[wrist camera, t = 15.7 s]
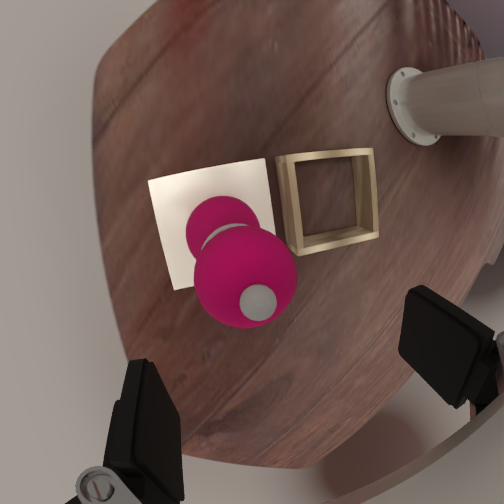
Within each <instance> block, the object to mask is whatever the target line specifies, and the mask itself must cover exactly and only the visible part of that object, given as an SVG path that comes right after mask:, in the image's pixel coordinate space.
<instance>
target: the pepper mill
mask: <svg viewBox="0 0 504 504" xmlns="http://www.w3.org/2000/svg"><path fill="white" fill-rule="evenodd" d="M186 241H187V245H188V248H189V250H190V252H191V254H192V255H193V257H194V258H195V259H196V263H195V267H194V279H193V280H194V287H195V290H196V294H197V296H198V298H199V301H200V303H201V304H202V306H203V307H204V309H205V310H206V311H207V312H208V313H209V314H210V315H211V316H212V317H213V318H215V319H216V320H218V321H219V322H221V323H223V324H225V325H228V326H231V327H236V328H253V327H258V326H261V325H264V324H266V323H268V322H270V321H273V320H274V319H275V318H276V317H278V316H279V315H280V314H281V313H282V312H283V311H284V310H285V309H286V307H287V306H288V304H289V303H290V302H291V299H292V297H293V295H294V293H295V288H296V284H297V273H296V266H295V262H294V259H293V257H292V255H291V253H290V251H289V249H288V248H287V246H286V245H285V244H284V243H283V242H282V241H281V240H280V239H279V238H278V237H277V236H276V235H274V234H273V233H271V232H269V231H267V230H265V229H262V228H260V224H259V221H258V219H257V216H256V215H255V213H254V212H253V210H252V209H251V208H250V207H249V206H248V205H247V204H246V203H245V202H243V201H241V200H240V199H237V198H235V197H231V196H216V197H212V198H209V199H207V200H205V201H203V202H202V203H200V204H199V205H198V206H197V207H196V208H195V209H194V210H193V211H192V213H191V215H190V217H189V219H188V221H187V225H186Z"/></svg>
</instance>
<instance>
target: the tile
mask: <svg viewBox="0 0 504 504" xmlns="http://www.w3.org/2000/svg"><path fill="white" fill-rule="evenodd" d="M148 184H149V189H150V194H151V199H152V203H153V208H154V213H155V217H156V221H157V226H158V230H159V234H160V238H161V243H162V247H163V251H164V255H165V258H166V262H167V266H168V270H169V273H170V277H171V281H172V284H173V288H174V290H177V289H182V288H186V287H191V286H194V280H193V279H194V267H195V263H196V259H195V258H194V257H193V255H192V254H191V252H190V250H189V248H188V245H187V241H186V225H187V221H188V219H189V217H190V215H191V213H192V211H193V210H194V209H195V208H196V207H197V206H198V205H199V204H200V203H202V202H203V201H205V200H207V199H209V198H212V197H216V196H231V197H235V198H237V199H240V200H241V201H243V202H245V203H246V204H247V205H248V206H249V207H250V208H251V209H252V210H253V212H254V213H255V215H256V216H257V219H258V221H259V224H260V228H262V229H265V230H267V231H269V232H271V233H273V234H274V235H276V233H275V226H274V219H273V212H272V205H271V198H270V191H269V184H268V177H267V171H266V164H265V158H262V159H255V160H248V161H242V162H236V163H230V164H224V165H219V166H213V167H208V168H203V169H197V170H193V171H188V172H183V173H178V174H174V175H169V176H165V177H160V178H156V179H152V180H148Z"/></svg>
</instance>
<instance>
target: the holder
mask: <svg viewBox="0 0 504 504" xmlns="http://www.w3.org/2000/svg"><path fill="white" fill-rule="evenodd" d="M344 156H351V162H352V171H353V181H354V192H355V205H356V221H357V226H352V227H347V228H343V229H338V230H333V231H329V232H324V233H319V234H314V235H310V236H305V237H303V232H302V222H301V214H300V205H299V197H298V189H297V181H296V174H295V166H294V162H296V161H304V160H313V159H322V158H332V157H344ZM274 157H275V164H276V171H277V178H278V185H279V192H280V199H281V206H282V214H283V222H284V229H285V237H286V246H287V247H288V248H289V249H290V250H291V251H292V252H294V253H295V254H296V255H297V256H302V255H307V254H311V253H315V252H319V251H324V250H328V249H332V248H336V247H341V246H345V245H349V244H353V243H357V242H361V241H366V240H370V239H374V238H378V237H379V230H378V204H377V188H376V175H375V165H374V155H373V148H356V149H341V150H328V151H317V152H307V153H298V154H289V155H281V156H274Z"/></svg>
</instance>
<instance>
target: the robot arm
mask: <svg viewBox="0 0 504 504" xmlns="http://www.w3.org/2000/svg"><path fill="white" fill-rule="evenodd" d="M387 103H388V108H389V111H390V114H391V117H392V119H393V121H394V123H395V125H396V127H397V128H398V130H399V131H400V132H401V134H402V135H403V136H404V137H405V138H406V139H407V140H409V141H410V142H412V143H414V144H416V145H421V146H428V145H432V144H434V143H435V142H437V140H438V139H439V138H440V136H441V135H464V136H492V137H504V57H500V58H494V59H487V60H482V61H476V62H470V63H465V64H460V65H455V66H450V67H446V68H441V69H437V70H433V71H429V72H425V73H423V72H421V71H419V70H418V69H415V68H411V67H405V68H401V69H398V70H396V71H395V72H394V73H393V74H392V75H391V77H390V78H389V81H388V84H387ZM494 333H495V331H493V330H492V329H490V328H489V327H487V326H486V325H484V324H483V323H481V322H480V321H479V320H477V319H476V318H474V317H473V316H471V315H469V314H468V313H466V312H465V311H464V310H462V309H460V308H459V307H457V306H456V305H454V304H453V303H451V302H450V301H448V300H446V299H445V298H443V297H442V296H440V295H439V294H437V293H435V292H434V291H432V290H431V289H429V288H427V287H426V286H424V285H419V286H417V287H414V288H411V289H410V290H409V291H408V294H407V295H406V298H405V306H404V314H403V321H402V328H401V335H400V341H399V346H398V351H399V354H400V356H401V357H402V358H403V359H404V360H405V361H406V362H407V363H408V364H409V365H410V366H411V367H412V368H413V369H414V370H415V371H416V372H417V373H418V374H419V375H420V376H421V377H422V378H423V379H424V380H425V381H426V382H427V383H428V384H429V385H430V386H431V387H432V388H433V389H434V390H435V391H436V392H437V393H438V394H439V395H440V396H441V397H442V398H443V400H444V401H445V402H446V403H448V404H449V405H452V406H453V407H454V408H455V409H458V408H459V407H460V406H462V405H463V404H464V403H465V402H466V400H467V399H468V400H469V401H470V421H469V422H468V423H467V424H466V425H464V426H463V427H462V428H461V429H459V430H458V431H457V432H455V433H454V434H453V435H451V436H450V437H449V438H447V439H446V440H444V441H443V442H442V443H440V444H439V445H437V446H436V447H434V448H433V449H431V450H430V451H428V452H427V453H425V454H424V455H422V456H421V457H419V458H417V459H416V460H414V461H412V462H411V463H409V464H407V465H406V466H404V467H402V468H400V469H398V470H397V471H395V472H393V473H391V474H389V475H387V476H386V477H384V478H381V479H379V480H377V481H375V482H373V483H371V484H369V485H367V486H365V487H363V488H360V489H358V490H356V491H354V492H351V493H349V494H346V495H344V496H341V497H339V498H336V499H334V500H331V501H328V502H325V503H323V504H504V331H503V332H501V333H499V334H498V335H497V338H496V340H495V341H494V340H493V336H494ZM75 486H76V493H77V496H75V497H74V498H72V499H71V500H70V501H68V502H67V503H65V504H180V501H184V498H185V497H184V484H183V470H182V453H181V428H180V417H179V413H178V411H177V409H176V407H175V406H174V404H173V402H172V400H171V398H170V396H169V394H168V392H167V390H166V388H165V386H164V384H163V382H162V380H161V377H160V375H159V373H158V371H157V369H156V367H155V365H154V363H153V362H148V360H147V359H138V360H130V361H129V363H128V367H127V371H126V375H125V380H124V384H123V389H122V393H121V398H120V400H117V401H116V402H115V404H114V408H113V412H112V417H111V422H110V427H109V432H108V437H107V443H106V449H105V454H104V461H103V467H101V466H95V467H90V468H88V469H86V470H85V471H83V472H82V473H81V474H80V476H79V477H78V479H77V481H76V485H75Z"/></svg>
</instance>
